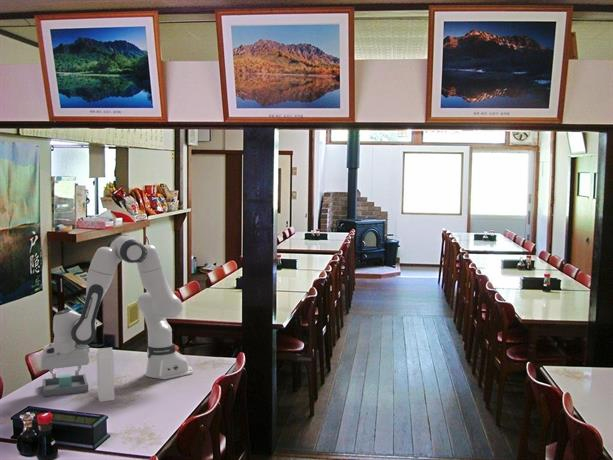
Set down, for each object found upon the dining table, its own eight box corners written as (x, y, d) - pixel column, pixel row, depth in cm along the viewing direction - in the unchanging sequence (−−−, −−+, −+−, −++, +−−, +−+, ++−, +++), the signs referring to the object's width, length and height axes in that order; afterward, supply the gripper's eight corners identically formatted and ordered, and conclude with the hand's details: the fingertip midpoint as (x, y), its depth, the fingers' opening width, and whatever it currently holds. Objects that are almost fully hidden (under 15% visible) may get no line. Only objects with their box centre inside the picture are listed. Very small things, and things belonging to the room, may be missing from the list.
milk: (97, 397, 263) (96, 347, 261) (112, 395, 266) (111, 345, 264) (99, 402, 258) (98, 350, 256) (114, 399, 260) (113, 348, 258)
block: (70, 384, 277) (70, 374, 276) (71, 388, 272) (71, 377, 272) (59, 386, 275) (58, 375, 274) (59, 389, 270) (59, 378, 270)
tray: (84, 380, 284) (84, 374, 284) (88, 391, 270) (88, 384, 270) (42, 385, 277) (42, 379, 277) (43, 397, 262) (43, 390, 262)
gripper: (88, 341, 279) (89, 371, 281) (39, 347, 271) (41, 377, 272) (89, 345, 274) (91, 375, 275) (40, 350, 265) (41, 382, 266)
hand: (65, 376), depth 273 cm, fingers open, 8 cm apart
